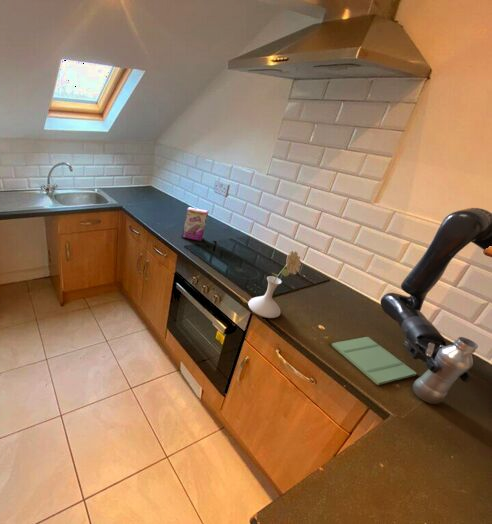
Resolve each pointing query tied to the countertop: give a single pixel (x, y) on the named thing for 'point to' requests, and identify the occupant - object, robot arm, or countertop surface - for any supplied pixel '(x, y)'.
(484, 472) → the countertop surface
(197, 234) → the pink beige food bag
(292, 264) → the flower in vase
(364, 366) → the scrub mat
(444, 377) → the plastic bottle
